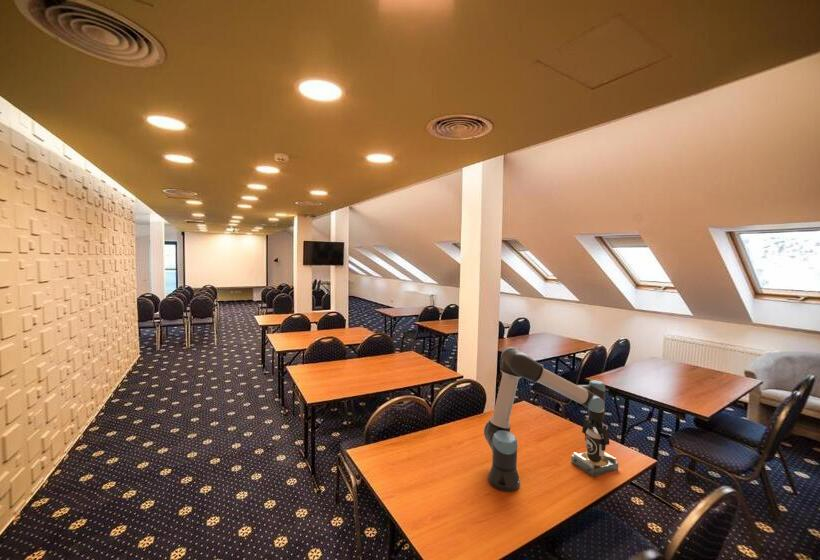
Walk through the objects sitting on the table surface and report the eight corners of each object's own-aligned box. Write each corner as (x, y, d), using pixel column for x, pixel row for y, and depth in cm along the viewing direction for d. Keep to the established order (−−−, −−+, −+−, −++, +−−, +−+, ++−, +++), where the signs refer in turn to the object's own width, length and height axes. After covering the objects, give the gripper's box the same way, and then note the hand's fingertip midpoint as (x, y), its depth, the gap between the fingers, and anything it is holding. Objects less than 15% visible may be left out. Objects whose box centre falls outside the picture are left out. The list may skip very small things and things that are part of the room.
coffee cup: (602, 465, 179) (604, 437, 178) (582, 458, 185) (584, 431, 184) (605, 456, 187) (607, 430, 186) (586, 450, 192) (587, 424, 191)
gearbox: (592, 477, 176) (592, 466, 176) (570, 462, 189) (570, 452, 189) (618, 470, 182) (618, 459, 182) (595, 456, 195) (595, 446, 195)
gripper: (619, 416, 176) (617, 460, 177) (585, 401, 195) (584, 441, 196) (608, 418, 174) (606, 463, 174) (575, 403, 193) (574, 443, 194)
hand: (594, 451), depth 185 cm, fingers closed on coffee cup, 8 cm apart
